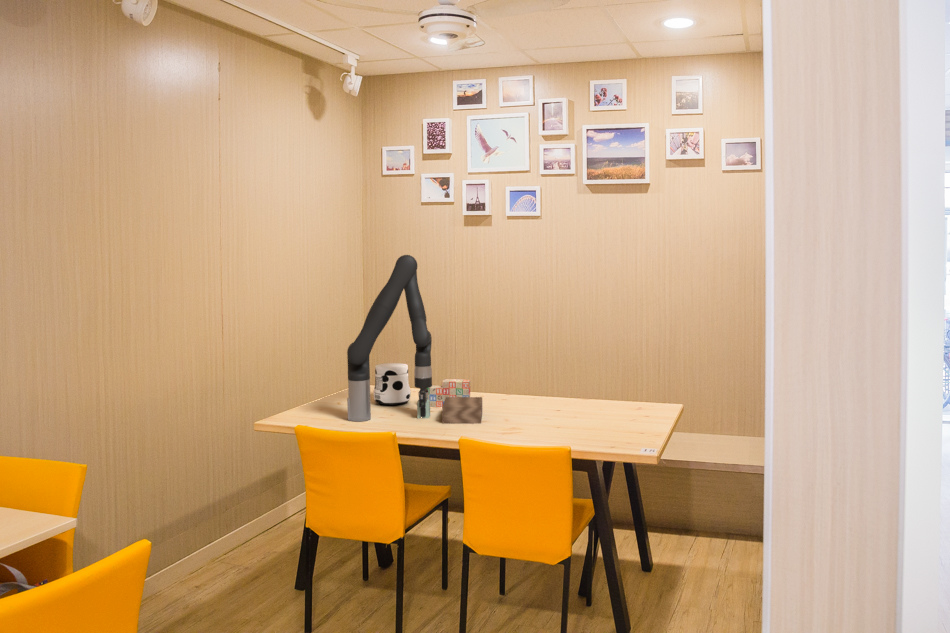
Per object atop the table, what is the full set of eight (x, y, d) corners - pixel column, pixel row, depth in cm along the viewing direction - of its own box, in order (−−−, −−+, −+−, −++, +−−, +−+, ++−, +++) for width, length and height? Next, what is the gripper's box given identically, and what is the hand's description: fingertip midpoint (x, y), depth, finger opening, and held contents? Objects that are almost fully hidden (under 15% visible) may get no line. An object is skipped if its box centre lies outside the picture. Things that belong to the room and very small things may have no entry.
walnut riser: (442, 423, 313) (442, 406, 313) (446, 412, 333) (445, 397, 333) (481, 423, 313) (480, 406, 312) (482, 412, 333) (482, 397, 332)
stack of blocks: (422, 407, 345) (422, 381, 344) (424, 405, 351) (424, 378, 350) (469, 408, 343) (469, 381, 342) (470, 405, 349) (470, 379, 348)
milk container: (414, 399, 362) (413, 362, 361) (406, 407, 345) (405, 368, 344) (379, 399, 365) (378, 362, 363) (369, 406, 348) (368, 368, 346)
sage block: (417, 418, 323) (417, 402, 323) (418, 415, 328) (418, 399, 328) (429, 418, 323) (428, 402, 322) (430, 415, 328) (429, 399, 327)
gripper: (416, 373, 331) (417, 411, 333) (412, 379, 317) (413, 418, 319) (433, 373, 331) (434, 411, 333) (430, 378, 317) (430, 418, 318)
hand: (423, 414), depth 326 cm, fingers closed on sage block, 5 cm apart
